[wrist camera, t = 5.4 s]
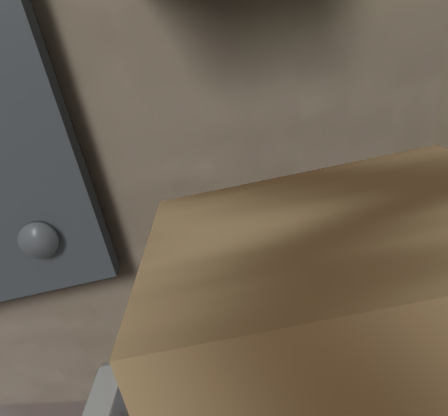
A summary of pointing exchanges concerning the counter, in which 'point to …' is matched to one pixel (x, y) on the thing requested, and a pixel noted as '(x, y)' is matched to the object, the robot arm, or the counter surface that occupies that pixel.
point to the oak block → (295, 297)
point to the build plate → (42, 173)
